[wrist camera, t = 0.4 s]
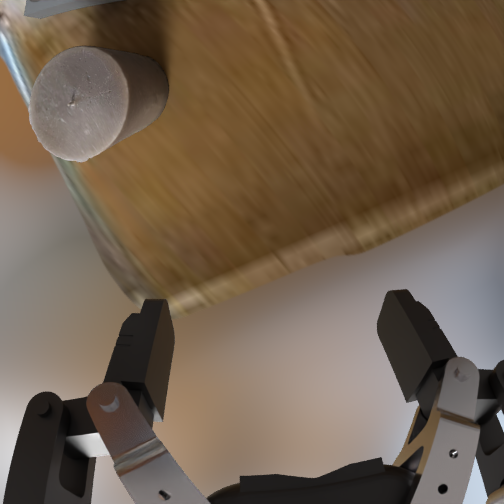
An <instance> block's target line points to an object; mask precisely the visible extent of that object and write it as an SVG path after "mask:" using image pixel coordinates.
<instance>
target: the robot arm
mask: <svg viewBox="0 0 504 504" xmlns="http://www.w3.org/2000/svg"><path fill="white" fill-rule="evenodd" d="M377 333H378V336H379V339H380V341H381V343H382V345H383V347H384V350H385V352H386V354H387V357H388V359H389V361H390V364H391V366H392V368H393V371H394V373H395V375H396V378H397V380H398V382H399V385H400V387H401V390H402V392H403V395H404V397H405V400H406V402H412V401H416V400H418V403H419V406H418V407H417V409H416V412H415V415H414V418H413V421H412V424H411V427H410V430H409V432H408V435H407V438H406V440H405V443H404V445H403V448H402V450H401V452H400V453H399V455H398V456H397V458H396V460H395V461H394V463H393V465H383V462H382V458H381V457H380V458H376V459H371V460H367V461H362V462H358V463H353V464H349V465H347V466H344V467H342V468H340V469H338V470H335V471H333V472H330V473H328V474H326V475H323V476H320V477H317V478H304V477H295V476H287V475H279V474H271V475H255V476H240V483H237V484H233V485H230V486H227V487H224V488H222V489H220V490H218V491H216V492H214V493H213V494H211V495H210V496H208V497H207V498H205V497H204V496H203V495H202V493H201V492H200V491H199V490H198V489H197V487H196V486H195V485H194V484H193V483H192V481H191V480H190V479H189V478H188V476H187V475H186V474H185V473H184V471H183V470H182V469H181V467H180V466H179V465H178V464H177V462H176V461H175V460H174V458H173V457H172V456H171V454H170V453H169V451H168V450H167V449H166V447H165V446H164V445H163V443H162V442H161V441H160V440H159V439H158V437H157V436H156V435H155V433H154V431H153V430H152V427H153V421H157V422H163V417H164V410H165V402H166V396H167V389H168V382H169V375H170V369H171V363H172V357H173V351H174V344H175V336H174V328H173V324H172V319H171V315H170V310H169V306H168V302H167V300H166V299H145V301H144V303H143V306H142V309H141V312H140V313H132V314H131V315H130V316H129V317H128V318H127V319H126V320H125V321H124V323H123V324H122V327H121V330H120V333H119V337H118V339H117V342H116V346H115V347H114V351H113V353H112V357H111V360H110V363H109V366H108V369H107V372H106V376H105V379H104V381H103V383H102V384H99V385H98V386H96V387H95V388H93V389H92V390H91V392H90V393H89V395H88V396H87V397H84V398H78V399H72V400H65V401H62V400H61V399H60V398H59V396H57V395H56V394H55V393H52V392H41V393H39V394H37V395H35V396H34V397H33V398H32V399H31V400H30V401H29V403H28V405H27V408H26V411H25V414H24V417H23V421H22V424H21V427H20V431H19V434H18V438H17V441H16V445H15V449H14V453H13V457H12V461H11V465H10V470H9V474H8V479H7V484H6V489H5V495H4V501H3V504H91V497H92V487H93V478H94V471H95V463H96V457H97V456H104V455H111V457H112V459H113V461H114V469H115V471H116V473H117V475H118V477H119V478H120V480H121V482H122V483H123V485H124V487H125V488H126V490H127V491H128V493H129V495H130V496H131V498H132V499H133V501H134V502H135V504H462V502H463V500H464V497H465V493H466V490H467V486H468V483H469V479H470V476H471V472H472V467H473V463H474V459H475V456H476V459H477V463H478V466H479V469H480V472H481V476H482V479H483V482H484V486H485V489H486V493H487V497H488V499H487V501H486V504H504V432H503V430H502V427H501V425H500V422H499V420H498V418H497V415H496V414H497V413H498V412H499V411H500V410H502V412H503V414H504V360H502V361H500V362H499V363H498V364H497V366H496V367H495V368H494V370H484V369H477V367H476V366H475V364H474V363H473V362H472V361H470V360H469V359H466V358H464V357H458V356H457V355H456V353H455V351H454V350H453V348H452V346H451V345H450V343H449V341H448V340H447V338H446V336H445V335H444V333H443V331H442V330H441V329H440V328H439V325H438V323H437V322H436V321H435V319H434V317H433V316H432V314H431V312H430V311H429V309H427V308H426V307H425V306H424V305H423V304H421V303H420V302H419V301H415V299H414V298H413V296H412V295H411V293H410V292H409V291H408V290H407V289H403V290H392V291H388V292H387V294H386V296H385V299H384V302H383V306H382V309H381V312H380V315H379V318H378V321H377Z"/></svg>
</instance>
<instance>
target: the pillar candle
mask: <svg viewBox="0 0 504 504" xmlns="http://www.w3.org/2000/svg"><path fill="white" fill-rule="evenodd" d="M168 87H169V85H168V80H167V77H166V74H165V72H164V70H163V69H162V67H161V66H160V65H159V64H158V63H157V62H156V61H155V60H154V59H152V58H150V57H148V56H147V57H145V56H141V55H139V54H135V53H130V52H125V51H118V50H112V49H106V48H101V47H94V46H77V47H73V48H69V49H67V50H65V51H62V52H61V53H59V54H58V55H56V56H55V57H53V58H52V59H51V60H50V61H49V62H48V63H47V64H46V65H45V66H44V68H43V69H42V71H41V72H40V74H39V75H38V77H37V79H36V82H35V84H34V86H33V89H32V93H31V98H30V104H29V107H28V110H29V113H30V115H29V119H30V124H31V125H32V129H33V130H34V132H35V134H36V136H37V139H38V141H39V142H41V143H42V145H43V147H44V148H45V149H46V150H48V151H49V152H51V153H52V154H54V155H55V156H56V157H60V158H62V159H65V160H71V161H77V163H78V162H84V161H86V160H88V158H92V157H93V156H96V155H98V154H99V153H101V152H103V151H104V150H106V149H108V148H109V147H111V146H113V145H115V144H116V143H118V142H120V141H122V140H123V139H125V138H127V137H129V136H131V135H132V134H134V133H136V132H139V131H140V130H142V129H143V128H146V127H147V126H148V125H150V124H151V123H152V122H153V121H155V120H156V119H157V118H158V117H159V116H160V115H161V113H162V111H163V110H164V108H165V105H166V102H167V99H168V93H169V88H168Z"/></svg>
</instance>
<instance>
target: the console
mask: <svg viewBox="0 0 504 504" xmlns="http://www.w3.org/2000/svg"><path fill="white" fill-rule="evenodd" d="M117 1H124V0H27V1H26V6H25V13H24V16H28V17H34V18H40V19H41V18H45V17H48V16H52V15H55V14H59V13H63V12H67V11H71V10H75V9H79V8H84V7H89V6H94V5H99V4H105V3H111V2H117Z"/></svg>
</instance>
